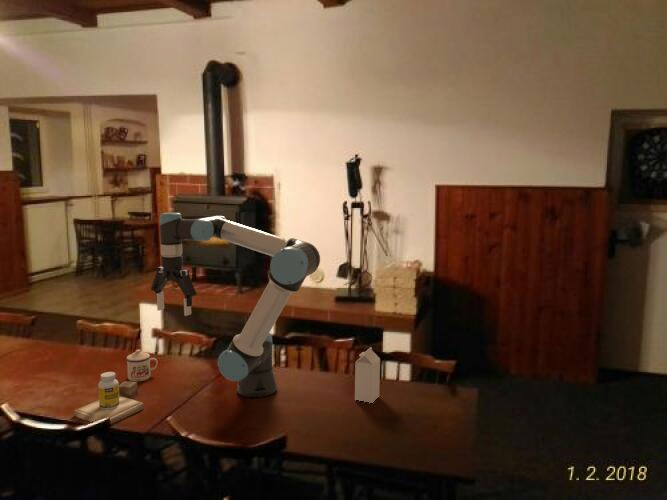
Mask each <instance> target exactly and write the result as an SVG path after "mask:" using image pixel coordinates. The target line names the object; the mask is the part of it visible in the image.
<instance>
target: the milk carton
mask: <svg viewBox="0 0 667 500" xmlns="http://www.w3.org/2000/svg"><path fill="white" fill-rule="evenodd" d="M358 355H359V359H357V360H356V361H355V363H354V365H355V368H354V369H355V370H354V401H356V400H359V401H358V402H360V401H364V402H363V403H365V402H369V403H368V404H370V403H373V402H374V401H375V400H376V399H377V398H378V397H380V382H381V381H380V380H381V379H380V378H381V377H380V376H381V375H380V374H381V358H380V357H379V355H377V353H375V351H373V349H372V347H369V348H368V349H367V350H366V351H363V352H361V353H359V354H358ZM378 399H379V398H378ZM376 401H377V400H376ZM376 401H375V402H376ZM375 402H374V403H375ZM374 403H373V404H374Z"/></svg>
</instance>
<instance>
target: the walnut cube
mask: <svg viewBox="0 0 667 500" xmlns="http://www.w3.org/2000/svg"><path fill="white" fill-rule="evenodd" d="M138 394H139V393H138V381H137V382H135V381H130V380H124V381H123V382H121V383H119V396H122V397H126V398H129V399H132V400H134V398H135V397H136V396H137V395H138Z"/></svg>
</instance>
